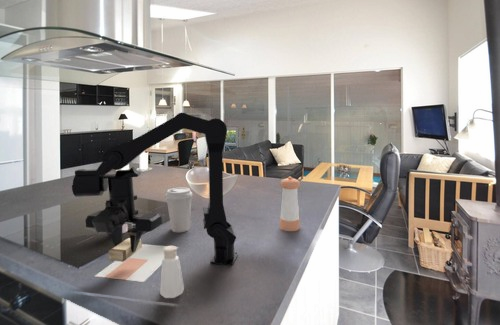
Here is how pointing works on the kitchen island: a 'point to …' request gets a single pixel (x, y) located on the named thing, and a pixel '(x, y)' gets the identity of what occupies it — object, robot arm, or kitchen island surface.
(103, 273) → the mat
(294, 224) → the salt shaker
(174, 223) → the coffee cup
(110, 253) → the wooden block
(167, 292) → the pepper shaker
